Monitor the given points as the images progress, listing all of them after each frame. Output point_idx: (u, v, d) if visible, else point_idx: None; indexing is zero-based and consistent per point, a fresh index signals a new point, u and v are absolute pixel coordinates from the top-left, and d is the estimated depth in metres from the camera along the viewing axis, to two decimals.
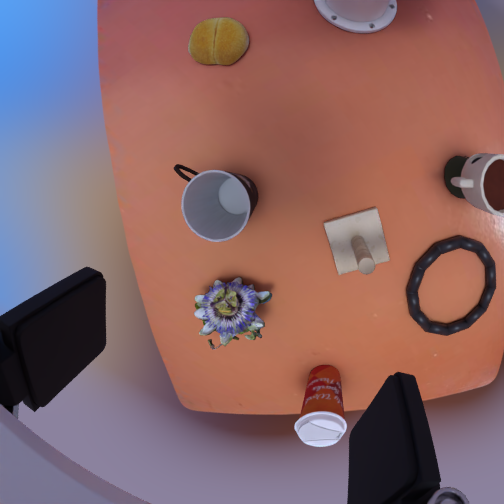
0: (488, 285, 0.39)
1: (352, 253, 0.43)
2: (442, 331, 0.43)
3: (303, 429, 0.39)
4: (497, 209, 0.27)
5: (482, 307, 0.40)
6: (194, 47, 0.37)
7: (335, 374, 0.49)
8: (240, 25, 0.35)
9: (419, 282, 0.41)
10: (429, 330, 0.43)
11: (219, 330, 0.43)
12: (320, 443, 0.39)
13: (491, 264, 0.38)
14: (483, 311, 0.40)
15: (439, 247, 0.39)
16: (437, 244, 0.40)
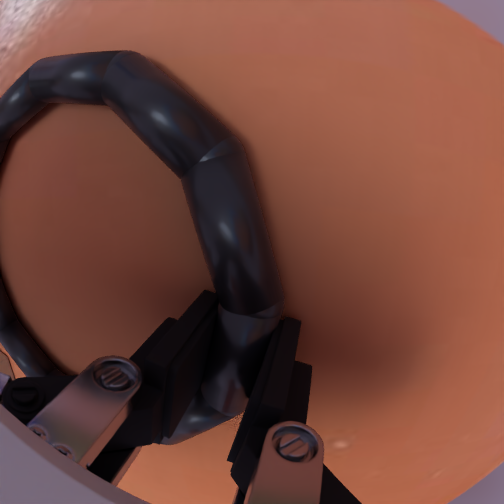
0: (96, 101, 0.08)
1: None
2: (194, 420, 0.10)
3: None
4: None
5: (181, 172, 0.07)
6: None
7: None
8: None
9: (20, 360, 0.12)
10: (169, 441, 0.11)
11: None
12: None
13: (24, 81, 0.07)
14: (206, 175, 0.07)
15: None
16: None
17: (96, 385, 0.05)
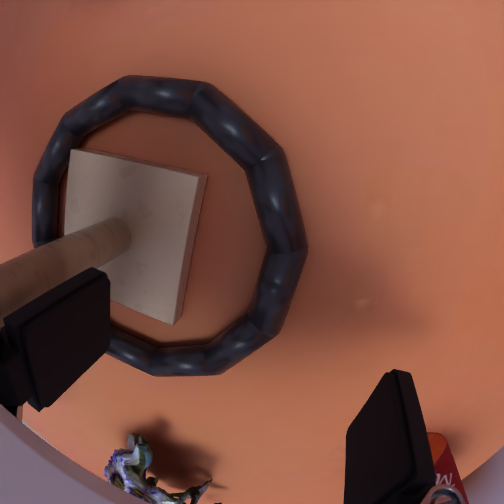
0: (181, 115, 0.12)
1: (135, 264, 0.15)
2: (242, 343, 0.15)
3: None
4: None
5: (248, 166, 0.12)
6: None
7: None
8: None
9: None
10: (217, 369, 0.16)
11: None
12: None
13: (113, 92, 0.12)
14: (265, 168, 0.12)
15: (32, 239, 0.16)
16: None
17: None
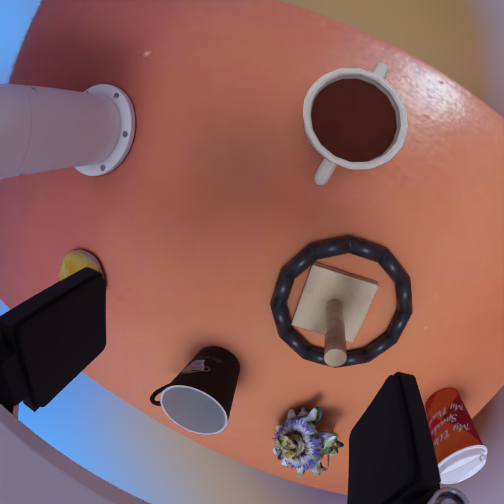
0: (375, 261, 0.32)
1: None
2: (383, 347, 0.34)
3: (443, 479, 0.24)
4: (389, 142, 0.19)
5: (399, 284, 0.32)
6: None
7: (445, 397, 0.34)
8: (74, 254, 0.40)
9: (298, 345, 0.36)
10: (369, 359, 0.35)
11: (304, 468, 0.34)
12: (472, 472, 0.23)
13: (346, 246, 0.32)
14: (405, 285, 0.31)
15: (272, 306, 0.36)
16: (270, 303, 0.36)
17: None
